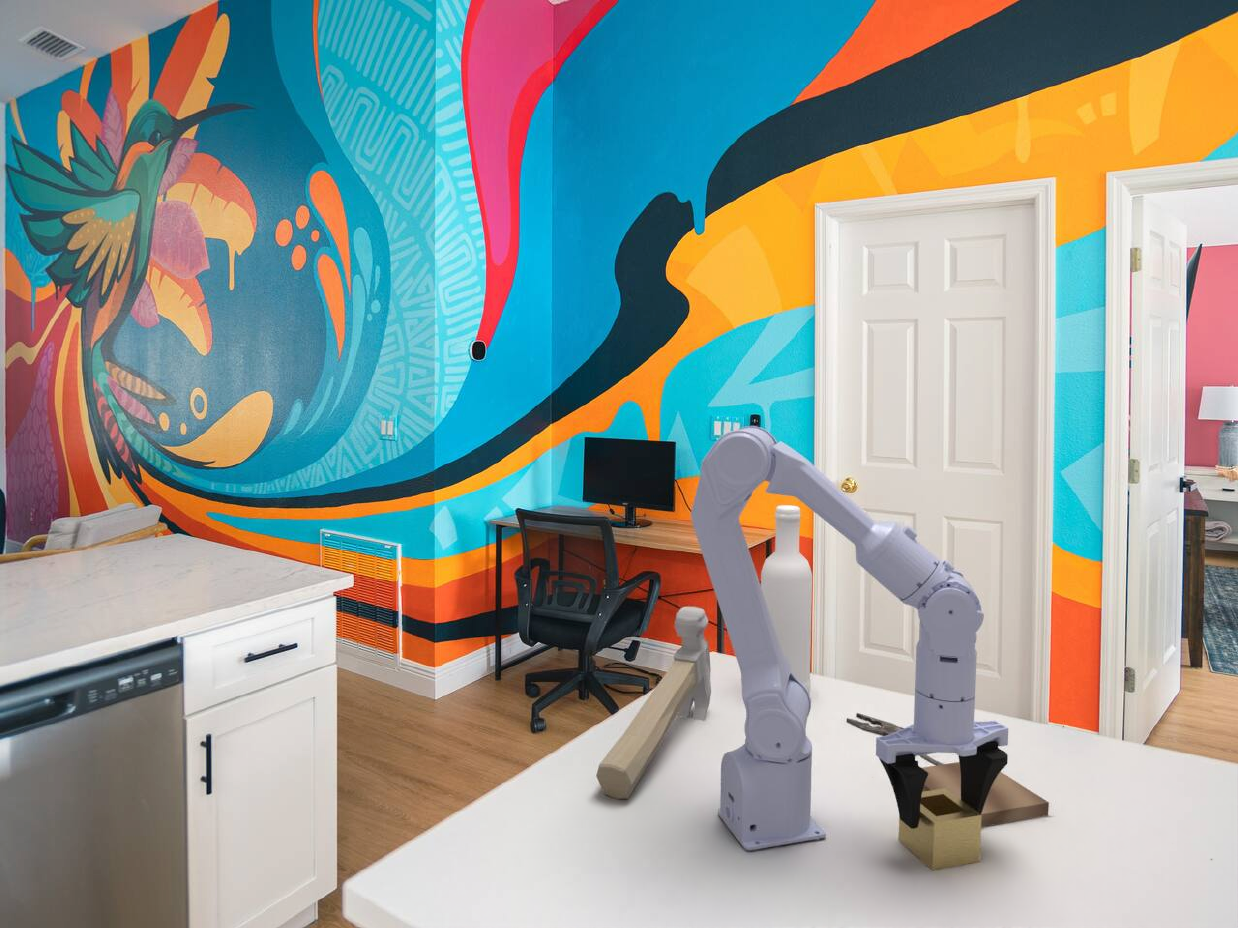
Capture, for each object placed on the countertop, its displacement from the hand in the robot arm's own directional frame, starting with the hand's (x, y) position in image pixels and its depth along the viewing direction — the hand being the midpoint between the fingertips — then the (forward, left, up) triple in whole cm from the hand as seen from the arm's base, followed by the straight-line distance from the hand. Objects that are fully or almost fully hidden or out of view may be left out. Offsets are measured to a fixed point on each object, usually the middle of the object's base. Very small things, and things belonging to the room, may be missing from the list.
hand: (940, 817), depth 83 cm
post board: (+11, +8, -4) cm, 14 cm away
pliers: (+13, +22, -4) cm, 26 cm away
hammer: (-21, +30, -4) cm, 37 cm away
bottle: (+4, +42, -4) cm, 42 cm away
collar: (0, 0, -4) cm, 4 cm away
